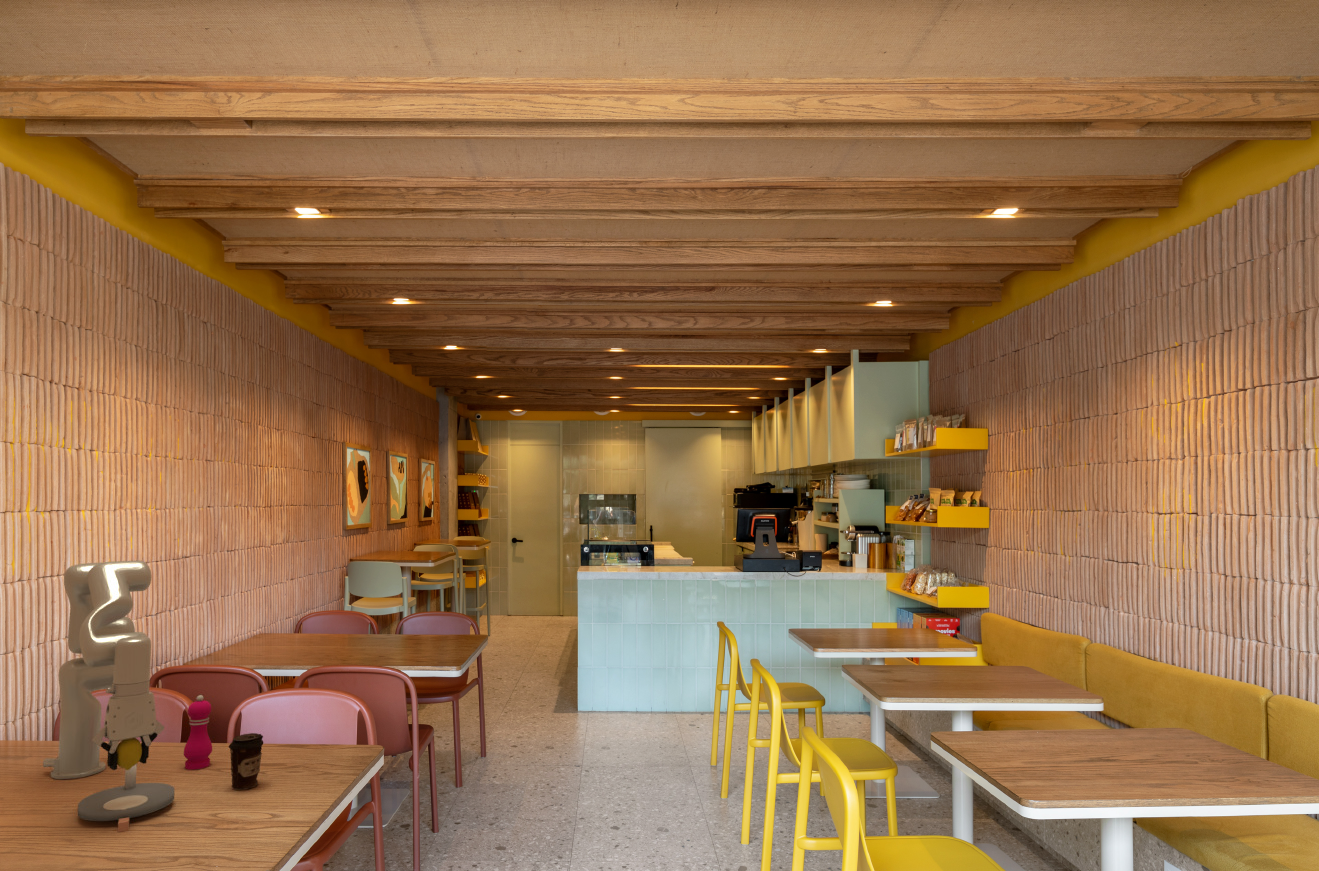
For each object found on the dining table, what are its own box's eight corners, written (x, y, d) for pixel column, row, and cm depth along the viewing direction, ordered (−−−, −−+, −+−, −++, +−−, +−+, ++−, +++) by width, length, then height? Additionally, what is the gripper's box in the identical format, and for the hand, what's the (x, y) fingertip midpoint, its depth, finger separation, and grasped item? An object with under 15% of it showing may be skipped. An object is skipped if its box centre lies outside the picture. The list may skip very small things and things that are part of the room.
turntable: (91, 828, 190) (93, 792, 190) (67, 806, 203) (68, 772, 204) (186, 803, 205) (187, 770, 205) (158, 785, 218) (159, 754, 219)
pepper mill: (217, 762, 241) (219, 692, 243) (201, 770, 234) (203, 698, 235) (193, 762, 242) (196, 692, 243) (177, 770, 235) (180, 697, 236)
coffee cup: (270, 783, 224) (272, 733, 225) (245, 793, 216) (247, 742, 217) (245, 779, 227) (246, 730, 228) (220, 789, 219) (221, 739, 220)
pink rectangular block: (118, 827, 194) (119, 818, 194) (128, 826, 195) (129, 817, 195) (117, 832, 191) (118, 823, 191) (128, 830, 192) (128, 821, 192)
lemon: (122, 766, 203) (123, 733, 203) (145, 766, 203) (147, 732, 204) (109, 774, 197) (110, 739, 198) (133, 773, 198) (135, 739, 198)
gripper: (95, 698, 193) (91, 778, 191) (175, 685, 206) (172, 760, 204) (84, 693, 198) (81, 771, 196) (164, 681, 211) (161, 754, 209)
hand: (127, 764), depth 200 cm, fingers closed on lemon, 5 cm apart
